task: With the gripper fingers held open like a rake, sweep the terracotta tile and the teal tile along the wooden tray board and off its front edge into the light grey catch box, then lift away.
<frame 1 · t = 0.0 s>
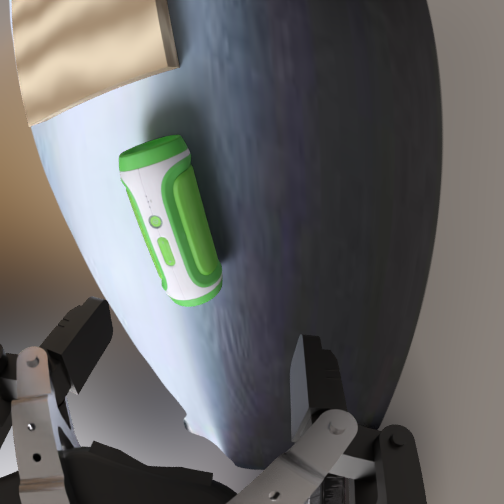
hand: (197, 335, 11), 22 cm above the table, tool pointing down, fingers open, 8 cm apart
speaker: (184, 208, 34), on the table
graphics card box: (320, 444, 69), on the table
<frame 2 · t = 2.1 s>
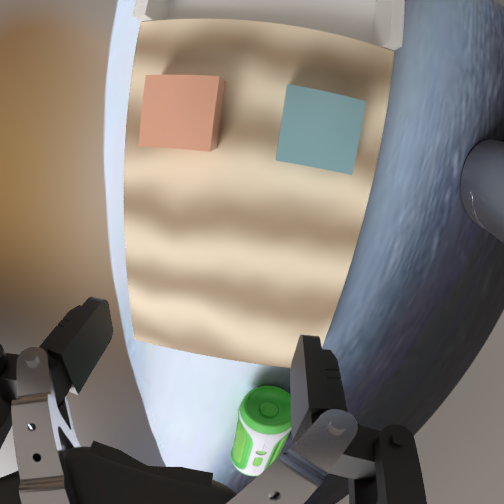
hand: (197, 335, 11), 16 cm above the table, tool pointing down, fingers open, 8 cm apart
teal tile: (316, 128, 19), point 3 cm above the table, touching wooden tray board
wooden tray board: (242, 204, 26), on the table
terracotta tile: (187, 111, 19), point 3 cm above the table, touching wooden tray board
speaker: (261, 415, 39), on the table
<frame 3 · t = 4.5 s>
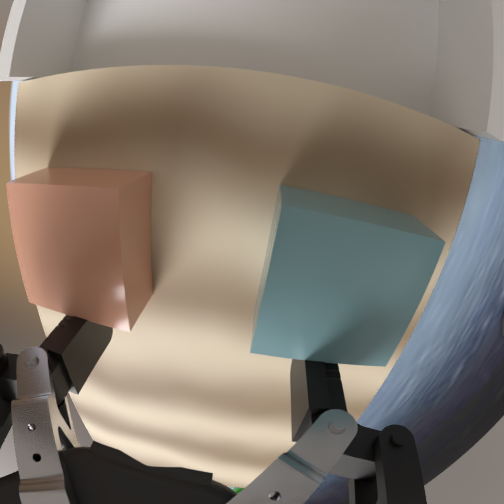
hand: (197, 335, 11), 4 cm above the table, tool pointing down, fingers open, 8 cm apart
teal tile: (333, 264, 11), point 4 cm above the table, touching gripper
wooden tray board: (208, 351, 18), on the table
terracotta tile: (95, 230, 11), point 4 cm above the table, touching gripper
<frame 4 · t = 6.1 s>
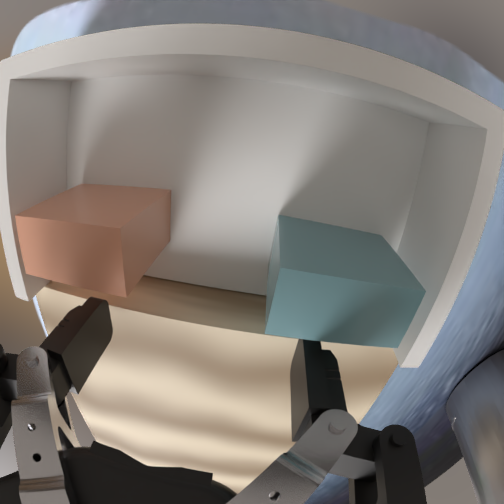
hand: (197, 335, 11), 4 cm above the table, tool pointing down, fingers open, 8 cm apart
catch box: (227, 188, 13), on the table
teal tile: (326, 302, 12), point 3 cm above the table, tilted 90°, touching catch box
wooden tray board: (206, 429, 22), on the table
terracotta tile: (100, 255, 12), point 3 cm above the table, tilted 90°, touching catch box
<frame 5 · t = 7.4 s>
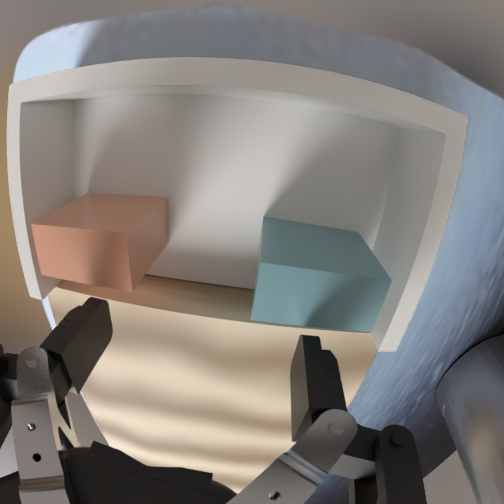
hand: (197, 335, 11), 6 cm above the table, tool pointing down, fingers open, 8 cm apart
catch box: (217, 194, 15), on the table
teal tile: (307, 293, 14), point 3 cm above the table, tilted 90°, touching catch box
wooden tray board: (207, 420, 23), on the table
terracotta tile: (107, 257, 13), point 3 cm above the table, tilted 90°, touching catch box
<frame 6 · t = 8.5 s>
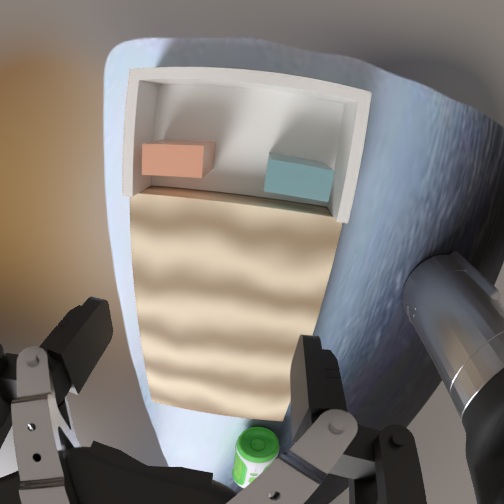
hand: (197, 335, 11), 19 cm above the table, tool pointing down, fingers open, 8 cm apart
catch box: (243, 141, 26), on the table
teal tile: (293, 189, 24), point 3 cm above the table, tilted 90°, touching catch box
wooden tray board: (225, 320, 34), on the table
terracotta tile: (179, 170, 24), point 3 cm above the table, tilted 90°, touching catch box
speaker: (254, 444, 47), on the table
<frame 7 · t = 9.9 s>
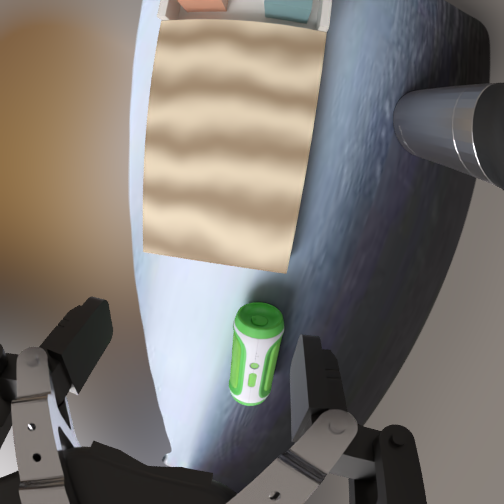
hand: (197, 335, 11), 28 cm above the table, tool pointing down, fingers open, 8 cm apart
teal tile: (286, 13, 25), point 3 cm above the table, tilted 90°, touching catch box
wooden tray board: (228, 141, 35), on the table
terracotta tile: (202, 5, 25), point 3 cm above the table, tilted 90°, touching catch box
speaker: (255, 341, 48), on the table
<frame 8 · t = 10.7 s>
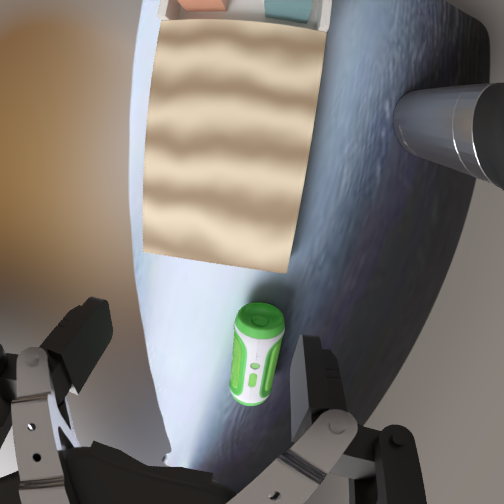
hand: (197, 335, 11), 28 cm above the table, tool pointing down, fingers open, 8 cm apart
teal tile: (286, 13, 25), point 3 cm above the table, tilted 90°, touching catch box
wooden tray board: (228, 141, 35), on the table
terracotta tile: (202, 5, 25), point 3 cm above the table, tilted 90°, touching catch box
speaker: (256, 342, 48), on the table
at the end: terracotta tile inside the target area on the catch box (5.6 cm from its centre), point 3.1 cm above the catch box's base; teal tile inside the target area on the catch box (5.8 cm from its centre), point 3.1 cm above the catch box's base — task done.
